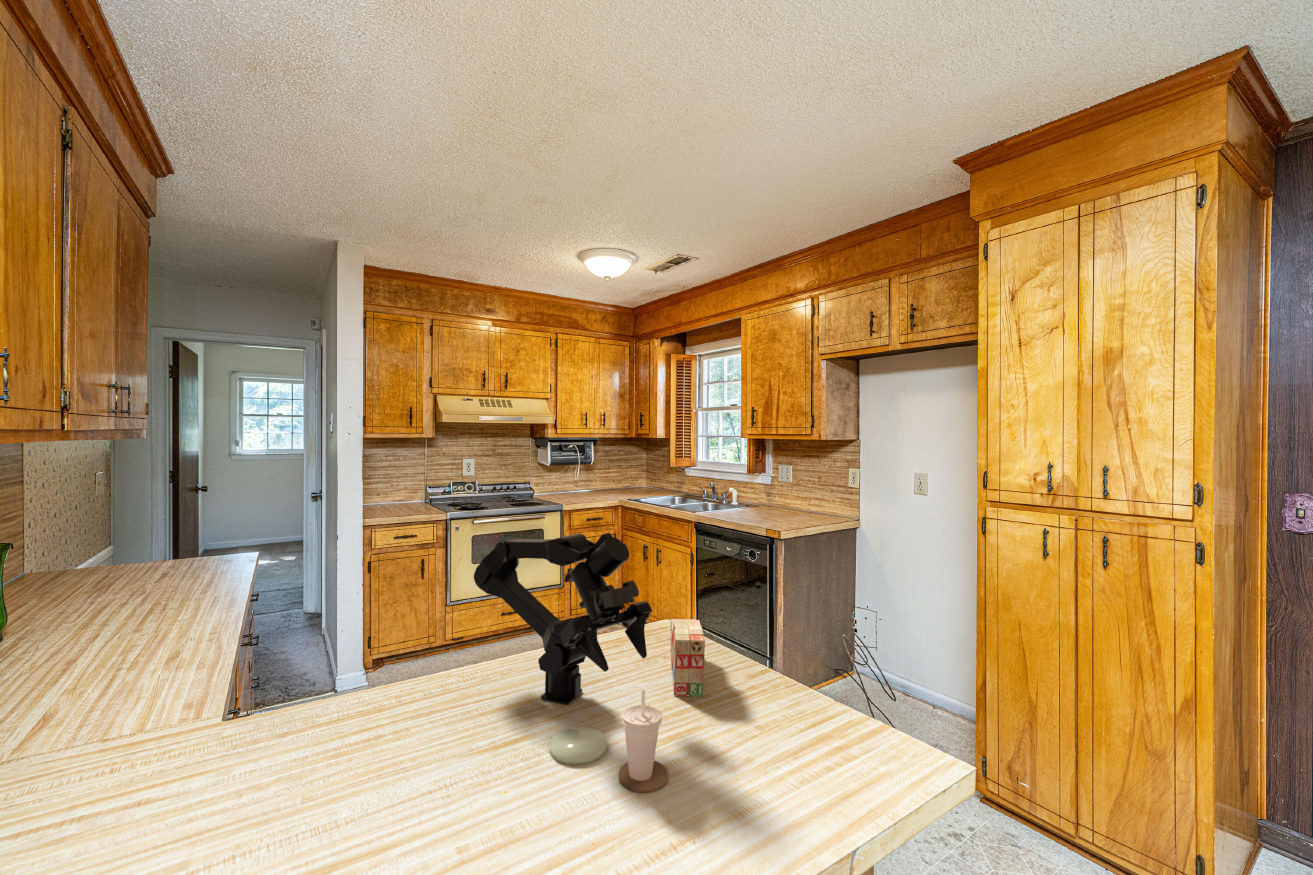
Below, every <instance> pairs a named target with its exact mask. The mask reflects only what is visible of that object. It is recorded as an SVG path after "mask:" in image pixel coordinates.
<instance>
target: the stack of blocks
mask: <svg viewBox="0 0 1313 875" xmlns="http://www.w3.org/2000/svg"><path fill="white" fill-rule="evenodd" d="M705 649H706V640H705V636H704V632H703V627H702V625H701V622H700V620H699V619H695V618H694V619H693V618H691V619H688V618H684V619H680V618H677V619H676V618H671V619H670V663H671V664H670V665H671V673H672V686H673V687H672V688H673V689H672V690H673V696H674V695H679V696H678V697H703V694H704V668H705V651H706V650H705ZM681 695H682V696H681ZM687 695H689V696H687Z"/></svg>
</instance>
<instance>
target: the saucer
mask: <svg viewBox="0 0 1313 875" xmlns="http://www.w3.org/2000/svg"><path fill="white" fill-rule="evenodd" d="M548 750H549V753H550V756H551V758H553V759H554V760H555V761H557V762H558V763H561V764H565V765H570V766H583V765H587V764H591V763H594V762H597V761H598V760H601V758H603V757H604V755H605V754H606V752H607V750H608V739H607V737H606V735H605V734H604V733H602V732H601V731H599V730H598V729H595V728H591V727H584V726H582V727H581V726H580V727H579V726H578V727H576V726H575V727H571V728H567V729H563V730H561V731H559V732H557V733H556V734H555V735H553V737H552V738H551V739H550V741H549V749H548Z"/></svg>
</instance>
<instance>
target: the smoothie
mask: <svg viewBox="0 0 1313 875" xmlns="http://www.w3.org/2000/svg"><path fill="white" fill-rule="evenodd" d="M640 702H641V704H640V705H634V706H630V707H628V708H627V709H625V710H624V711H623V713H622V721H621V722H622V724H623V725H624V733H625V734H624V735H625V744H626V755H627V762H628V767H629V775H630V777H631V778H632V779H634V780H638V781H644V780H647V779H649V778H650V777H651V776H652V771H653V764H654V761H655V756H656V749H657V743H658V738H659V737H658V736H659V729H660V726H661V724H662V721H663V720H662V718H663V717H662V713H661V711H660V710H659V709H657V707H656V708H655V707H653V706H650V705H645V704H646V703H645V702H646V689H645V688H642V689H641V701H640Z"/></svg>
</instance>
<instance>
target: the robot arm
mask: <svg viewBox="0 0 1313 875" xmlns="http://www.w3.org/2000/svg"><path fill="white" fill-rule="evenodd" d="M629 558H630V551H629V548H628V546H627V545H626V543H623V541H622V540H621V539H619V538H616V537H614V536H613V535H612V534H611V532H606V533H603V534H601V535H600V537H599V538H598V540H596V542H594V541H592V540H589V539H587V537H586V535H585V534H584V533H576V534H575V533H574V534H570V535H565V536H561V537H557V538H552V539H546V538H545V539H544V538H540V539H539V538H518V537H513V538H508V539H503V540H500V541H499V542H497V544H496V545H495V547H494V548H493V549H492V550H491V551H490V552H489V553H488V554H487V555H486V556H485V557H484V558H483V559H481V561H480V562H479V564H478V565H477V566H476V568H475V571H474V573H473V582H475V585H476V587H478V589H480V590H481V591H483V592H484V593H486V594H487V595H490V596H493V597H497V598H500V599H502V600H503V601H504V602H505V603H506V604H507V605H508V606H509V607H510V608H511V609H512V610H513V611H514V612H515V614H516V615H518V616H519V617H520V618H521V619H522V620H523V621H524V622H525V623H526V624H527V625H528V626H529V627H530V628H531V629H532V630H533V631H534V632H535V633H537V635H538V636H539V637H540V638H541V639H542V644H543V645H542V646H543V649H544V650H543V651H544V653H543V654H542V655H541V656H540V657H539V658H538V660H537V662H538V665H539V669H540V671H542V672H545V674H544V675H545V680H544V682H545V683H544V693H543V694H541V695H540V699H541V700H544V701H551V702H555V703H560V704H564V705H570V703H572V702H573V701H574V700H576V698H577V697H578V696H579V695H580V694H581V693H582V692H583V688H581V686H582V673H580V664H581V663H584V662H585V660H586V657H587V658H588V659H589V660H591V662H593V663H594V664H595V665H596V666H598V668H599V669H600V670H602V671H603V672H605V673H606V672H608V670H609V665H608V662H607V658H606V657H605V654H604V652H603V650H602V648H601V645H600V642H599V641H598V630H602V629H605V628H608V627H609V628H610V627H613V626H616V625H619V624H622V626H623V627H624V628H626V629H625V630H624V633H625V634H626V636H627V638H628V640H629V641H630V642H631V644H632V645H633V647H634V649H635V650H636V651H637V653H638V654H639V656H640V657H641V659H645V658H646V657H647V656H648V653H647V646H646V645H647V644H646V635H645V626H646V621H647V620H648V619H649V618H650V615H651V613H653V609H652V607H651V605H650V603H649V602H648V601H646V600H641V601H637V602H635V598H637V597H638V596H639V594H640V591H639V587H638V585H637V584H636V582H635V581H634V579H633V580H628V581H626V582H622V583H621V584H622V586H620V587H617V588H615V587H614V586H613V585H612V584H609V585H607V582H606V580H605V578H610V576H611V575H613V574H614V573H615V572H616V571H617V570H618V569H619V568H620V567H621V566H622V565H624V563H626V561H627V560H629ZM519 559H537V560H541V559H543V560H546V561H548V562H549V563H550V564H554V565H556V566H560V567H564V566H569V565H572V564H576V565H575V566H574V567H572V568H567V569H566V570H567V572H566V574H565V576H564V583H574V586H575V589H576V590H577V593H578V595H579V597H580V600H581V601H580V602H579V603H578V605H579V607H580V609H585V611H586V614H587V615H582V616H579V617H574V618H573V617H571V618H568V619H565V620H560V619H559V618H558V617H557V616H555V615H554V614H553V613H552V612H551V611H550V610H549V609H548V608H547V607H546V606H545V605H544V604H543V603H542V602H541V601H539V599H538V598H536V597H535V596H534V595H533V594H532V592H530V591H529V590H528V589H527V588H525V586H524V585H522V583H520V581H519V577H518V572H517V568H518V566H519V563H520V560H519ZM625 604H630V605H629V606H628V607H626V605H625ZM625 607H626V609H625V610H624V611H622V612H620V611H621V610H623V609H624V608H625Z"/></svg>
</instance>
